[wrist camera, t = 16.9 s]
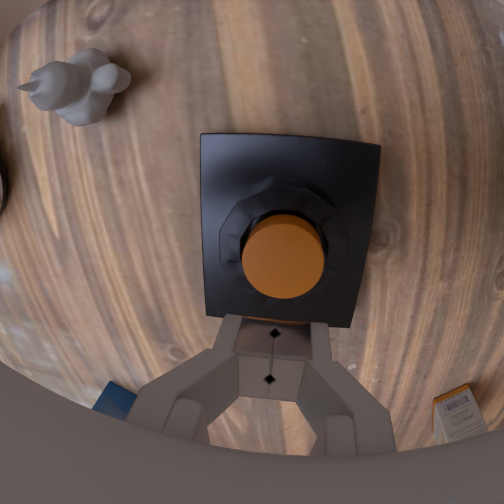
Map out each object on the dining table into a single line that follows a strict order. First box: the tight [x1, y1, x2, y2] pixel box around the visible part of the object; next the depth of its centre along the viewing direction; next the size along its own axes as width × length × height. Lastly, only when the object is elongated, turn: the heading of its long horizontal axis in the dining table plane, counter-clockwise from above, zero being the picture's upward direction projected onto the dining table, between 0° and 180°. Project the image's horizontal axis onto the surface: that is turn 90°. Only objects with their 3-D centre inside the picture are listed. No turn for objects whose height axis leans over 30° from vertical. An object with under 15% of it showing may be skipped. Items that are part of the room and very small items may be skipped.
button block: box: [200, 133, 381, 328], centre depth 17 cm, size 12×10×4 cm
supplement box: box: [432, 384, 489, 445], centre depth 18 cm, size 8×5×13 cm, turn 25°
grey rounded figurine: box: [16, 48, 131, 126], centre depth 13 cm, size 5×7×8 cm
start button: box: [242, 214, 324, 299], centre depth 15 cm, size 4×4×2 cm
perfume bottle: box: [92, 381, 137, 422], centre depth 25 cm, size 6×6×12 cm
